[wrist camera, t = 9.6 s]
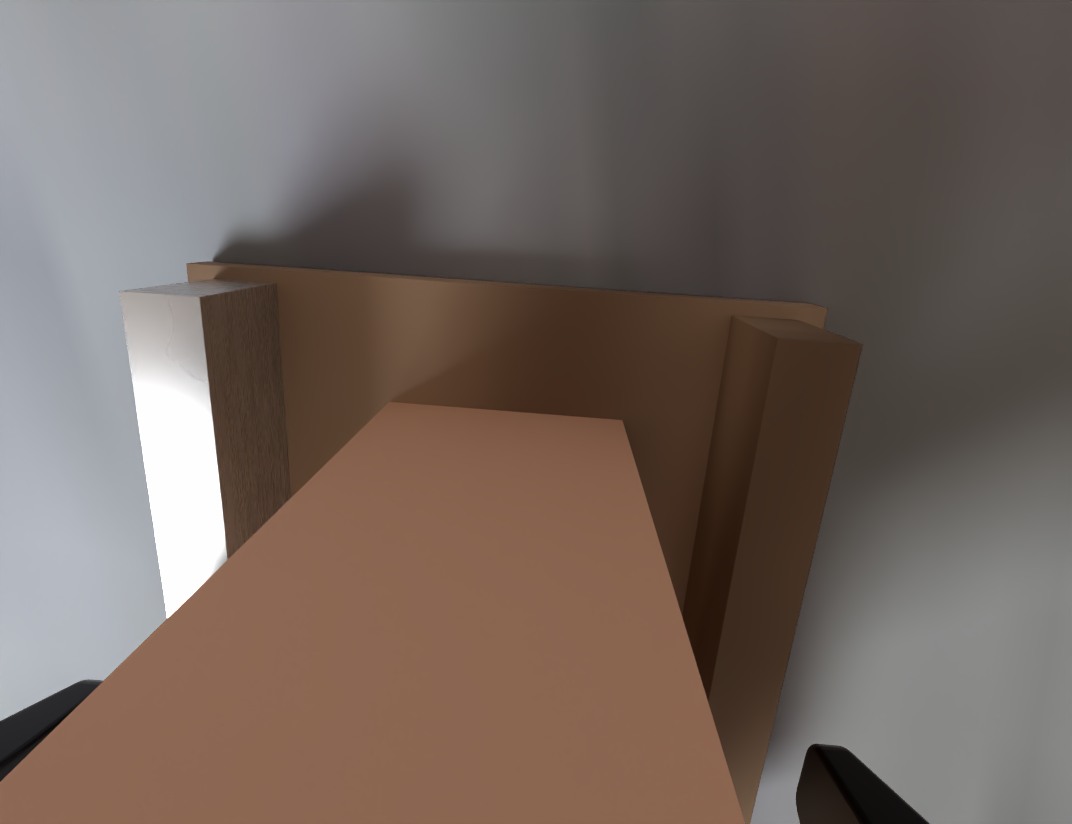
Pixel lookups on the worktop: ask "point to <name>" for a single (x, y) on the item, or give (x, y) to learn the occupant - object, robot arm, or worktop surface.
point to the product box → (413, 653)
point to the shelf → (519, 386)
